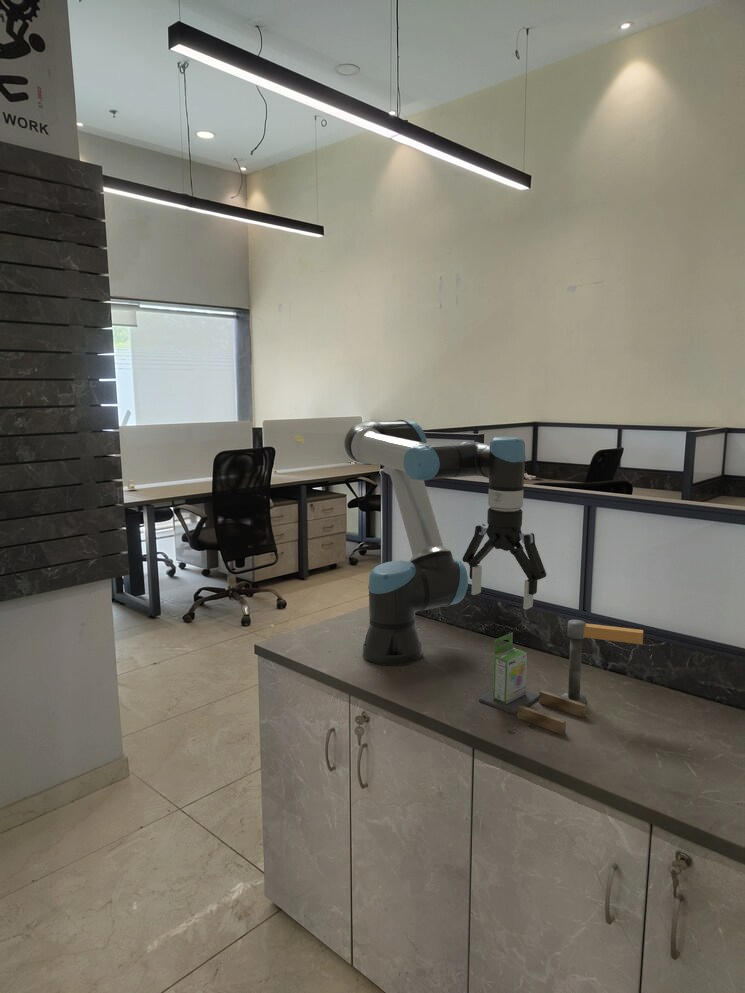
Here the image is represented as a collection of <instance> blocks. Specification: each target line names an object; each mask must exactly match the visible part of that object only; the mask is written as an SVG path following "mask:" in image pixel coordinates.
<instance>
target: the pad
mask: <svg viewBox="0 0 745 993" xmlns="http://www.w3.org/2000/svg"><path fill="white" fill-rule="evenodd" d="M537 700H539V694H538V693H537V694H536V693H534V692H532V691H531V692H530V691H527V690H526V695H524V696H522V697H520V698H518V699H516V700H514V701H512V702H510V703H508V704H505V703H502V702H500V701H498V700H496V699H494V698H493V689H492V690H491V691H489V692H487V693H486V694H484V695H483V696H480V697H479V698H478V701H479V702H481V703H484V704H486V705H489V706H491V707H494V708H496V709H499V710H502V711H505V712H507V713H511V714H513V715H517V713H518V706H519V705H522V706H525V707H529V706H530V705H532V704H533V703H535V702H536V701H537Z"/></svg>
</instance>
